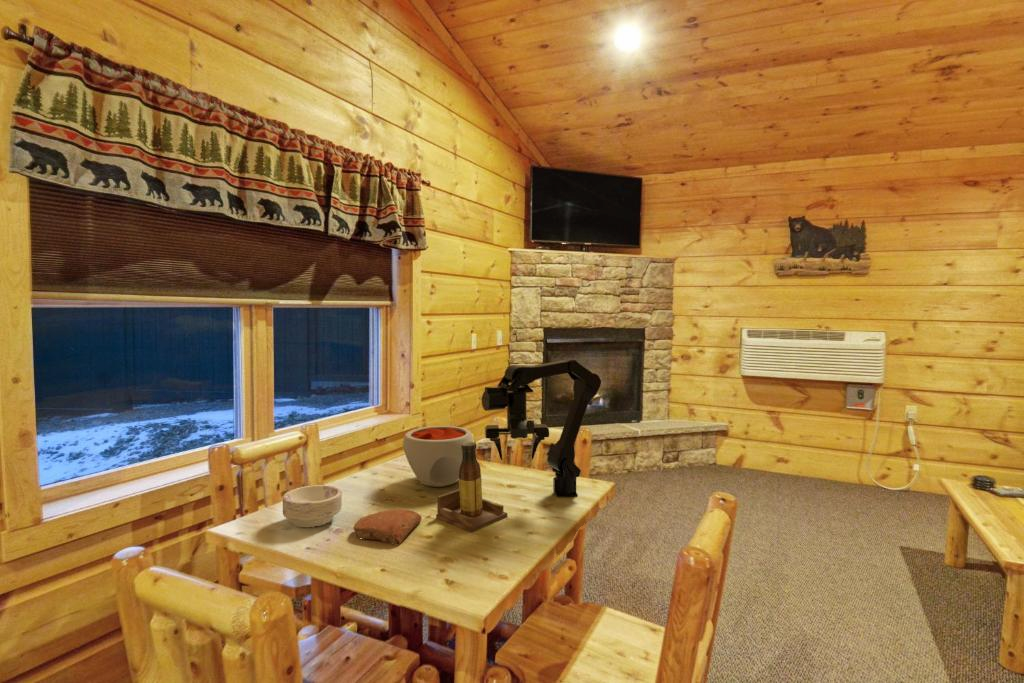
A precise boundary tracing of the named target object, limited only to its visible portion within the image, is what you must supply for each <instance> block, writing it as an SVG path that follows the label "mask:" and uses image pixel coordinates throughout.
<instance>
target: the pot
mask: <svg viewBox="0 0 1024 683" xmlns="http://www.w3.org/2000/svg"><path fill="white" fill-rule="evenodd" d="M465 442H474V443H475V440H474V436H473V433H472V432H471V431H470V430H469V429H468V428H464V427H460V426H452V425H431V426H425V427H424V426H423V427H419V428H415V429H412V430H409V431H408V432H406V433H405V435H404V437H403V440H402V448H403V452H404V455H405V457H406V460H407V463H408V464H409V467H410V469H411V470H412V472H413V473H414V475H415V477H416V479H418V482H420V483H421V485H422V484H423V485H425V486H428V487H432V488H434V487H435V488H441V487H447V486H450V485H452V484H455V483H456V482H459V469H460V466H461V463H462V457H463V455H462V444H463V443H465Z"/></svg>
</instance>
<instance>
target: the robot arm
mask: <svg viewBox="0 0 1024 683" xmlns="http://www.w3.org/2000/svg"><path fill="white" fill-rule="evenodd" d="M564 374H567V375H568V377H569V378H570V379H572V380H573V386H572V390H573V399H572V402H571V405H570V408H569V410H568V413H567V416H566V419H565V422H564V425H563V428H562V432H561V433H560V437H559V439H558V441H557V442H556V443H552V442H551V443H550V445H549V449H548V452H547V453H546V456H547V459H546V462H547V464H548V465H549V466H550V468H551V471H552V472H553V473H554V477H553V478H552V481H553V482H552V483H553V484H552V487H553V488H552V490H553V492H554V493H556V494H555V496H556V495H557V496H565V497H578V496H579V494H578V492H577V478H578V477H580V474H581V472H582V470H581V468H579V467H578V466H577V465H576V464H575V459H576V458H575V457H576V452H575V444H576V442H577V438H578V435H579V432H580V429H581V426H582V424H583V420H584V416H585V415H586V412H587V409H588V406H589V403H590V402H591V401H592V399H593V398H594V397H595V396H596V395H597V393H598V391H599V390H600V388H601V385H602V380H601V377H600V375H598V374H597V373H594V372H592V371H591V370H589V369H587V368H586V367H584V366H583V365H582V364H581V363H579V362H578V360H575V359H572V358H571V359H570V358H565V359H563V360H557V361H551V362H547V363H546V362H545V363H540V364H535V365H526V364H512V365H508V366H507V368H506V369H505V371H504V375H503V376H502V378H501V379H500V381H499V383H498V384H497V386H485V387H484V391H483V392H482V396H481V406H482V409H483V410H484V411H485V412H488V411H497V410H505V409H507V410H506V411H507V412H506V416H507V417H506V420H507V422H506V426H507V427H499V425H498V424H487V425H486V426H485V427H484V434H485V439H489V441H490V442H493V443H494V445H495V447H496V448H497V452H498V456H499V459H500V461H503V453H502V452H503V450H502V444H501V437H500V436H501V435H510V438H511V439H519V438H520V439H527V438H528V435H531V434H532V436H531V437H532V438H531V449H530V450H531V451H530V458H531V460H532V461H533V460H534V457H535V454H536V451H537V448H538V446H539V444H540V443H541V442H542V441H544V440H545V438H549V437H550V428H549V427H548V426H547V424H545V423H537V424H536V423H535V420H534V419H531V420H530V419H529V420H527V394H528V393H529V394H530V393H534V390H533V389H532V388H531V387H530V386H529V384H532V383H533V382H535V381H537V380H539V379H543V378H549V377H553V376H558V375H564ZM557 496H556V497H557Z"/></svg>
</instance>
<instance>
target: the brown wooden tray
mask: <svg viewBox="0 0 1024 683" xmlns="http://www.w3.org/2000/svg"><path fill="white" fill-rule="evenodd" d="M436 499H437V502H436V503H437V514H435V518H436V519H437V520H440V521H443V522H444V523H448V524H450V525H453V526H455V527H456V528H460V529H462V530H465V531H467V532H469V533H473V532H475V531H478V530H480V529H482V528H484V527H486V526H489V525H491V524H493V523H495V522H498V521H500V520H504V518H507V517H508V512H505V511H504V505H503V504H500V503H497V502H494V501H491V500H488V499H485V498H482V513H481V514H479V515H477V516H465V515H463V514H462V513H461V508H460V490H459V488H457V489H455V490H453V491H452V490H451V491H448V492H447V493H443V494H441V495H437V497H436Z"/></svg>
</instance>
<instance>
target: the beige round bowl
mask: <svg viewBox="0 0 1024 683" xmlns="http://www.w3.org/2000/svg"><path fill="white" fill-rule="evenodd" d="M342 492H343V491H342V490H341V489H340V488H339V487H337V486H334V485H325V484H323V485H322V484H321V485H320V484H317V485H315V484H314V485H307V486H300V487H298V488H293V489H291V490H288V491H287V492H286V493H284V494H283V496H282V515H283V517H285V519H288V520H290V522H292V524H293V525H294V526H296V527H298V526H299V527H298V528H303V527H312V528H316V527H315V526H318V527H321V526H320V525H322V526H324V525H327V524H328V523H330V522H331V521H332V520H333V519H334V517H335V516H336V515H337V514H339V513H340V512H341V510H342V506H343V502H342V500H343V497H342V496H343V493H342ZM326 523H327V524H326ZM323 524H324V525H323Z"/></svg>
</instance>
